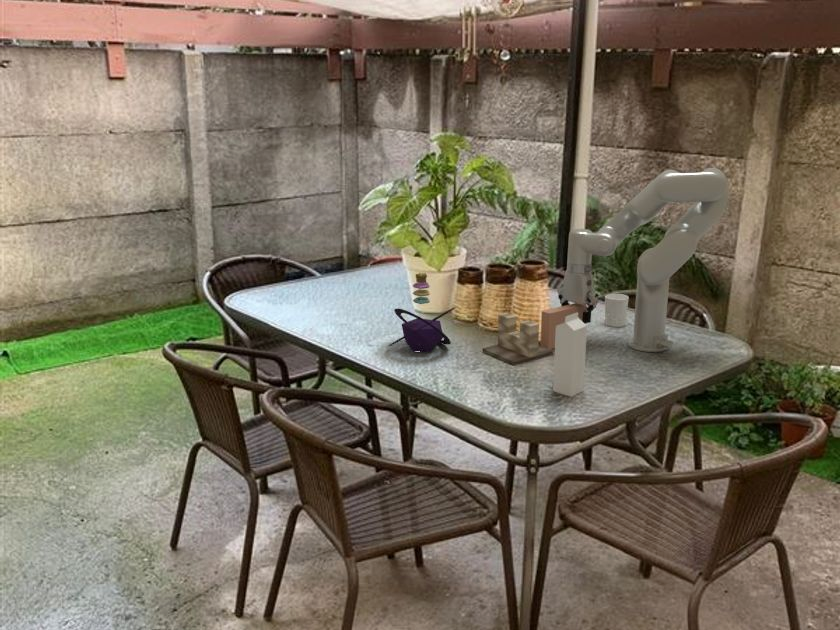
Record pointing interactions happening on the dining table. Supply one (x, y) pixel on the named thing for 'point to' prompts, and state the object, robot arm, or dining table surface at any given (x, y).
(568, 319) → the milk
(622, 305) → the white cup
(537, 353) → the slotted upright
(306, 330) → the dining table surface
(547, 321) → the brown arch block
